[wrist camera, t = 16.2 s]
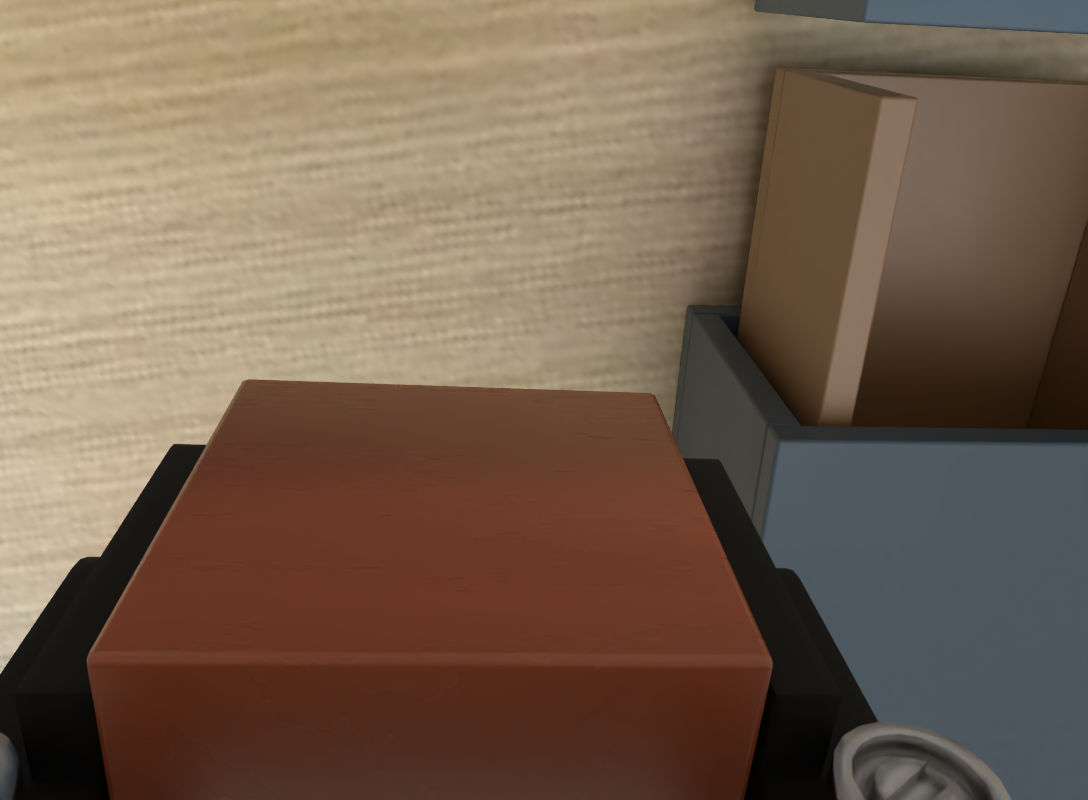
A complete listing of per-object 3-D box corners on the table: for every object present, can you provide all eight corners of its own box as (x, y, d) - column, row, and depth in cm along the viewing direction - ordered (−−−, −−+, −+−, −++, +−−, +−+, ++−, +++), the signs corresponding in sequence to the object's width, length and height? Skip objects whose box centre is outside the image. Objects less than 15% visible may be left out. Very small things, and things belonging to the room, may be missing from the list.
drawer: (793, -297, 21) (942, -425, 14) (1256, -259, 22) (1593, -362, 15) (697, 437, 29) (764, 573, 22) (1042, 441, 30) (1206, 572, 23)
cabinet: (686, 304, 28) (777, 440, 20) (1079, 314, 29) (1323, 446, 21) (642, 682, 34) (697, 908, 26) (969, 678, 35) (1123, 893, 27)
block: (241, 375, 10) (79, 657, 6) (656, 391, 10) (777, 661, 6) (265, 702, 12) (154, 1091, 8) (615, 702, 12) (689, 1071, 8)
